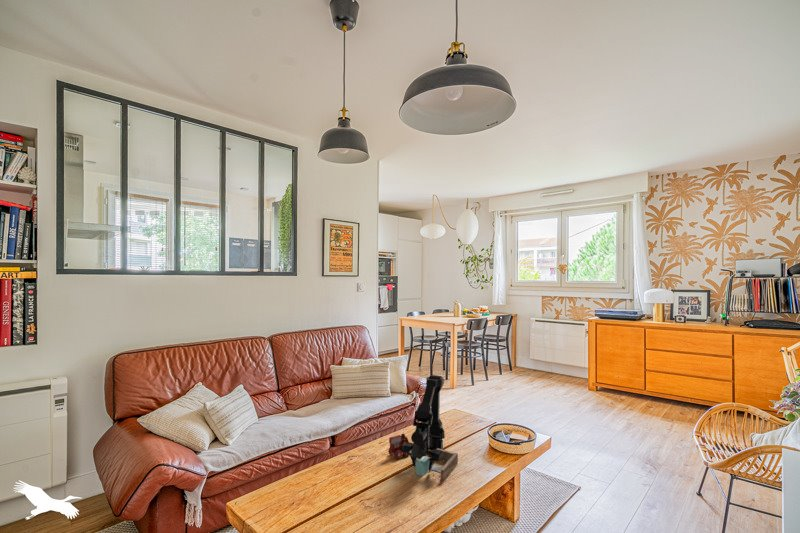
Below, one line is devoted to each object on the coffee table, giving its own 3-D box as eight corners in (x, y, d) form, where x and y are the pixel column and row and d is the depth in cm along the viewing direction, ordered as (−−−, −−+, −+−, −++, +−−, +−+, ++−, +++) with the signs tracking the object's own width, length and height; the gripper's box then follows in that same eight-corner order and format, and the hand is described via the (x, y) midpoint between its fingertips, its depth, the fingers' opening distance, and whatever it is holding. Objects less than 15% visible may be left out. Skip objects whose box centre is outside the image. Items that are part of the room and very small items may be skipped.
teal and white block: (423, 476, 177) (423, 462, 177) (415, 474, 179) (415, 460, 179) (429, 469, 183) (429, 456, 184) (421, 467, 185) (421, 454, 185)
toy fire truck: (412, 454, 198) (413, 434, 198) (393, 461, 191) (394, 440, 191) (404, 449, 204) (405, 430, 204) (385, 455, 196) (386, 435, 196)
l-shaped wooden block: (421, 475, 178) (421, 464, 178) (437, 458, 195) (437, 448, 195) (443, 481, 173) (443, 470, 173) (457, 463, 190) (457, 453, 190)
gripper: (397, 437, 179) (396, 471, 179) (434, 447, 170) (433, 482, 170) (408, 429, 189) (407, 461, 188) (443, 438, 180) (443, 471, 180)
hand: (422, 469), depth 181 cm, fingers open, 7 cm apart
